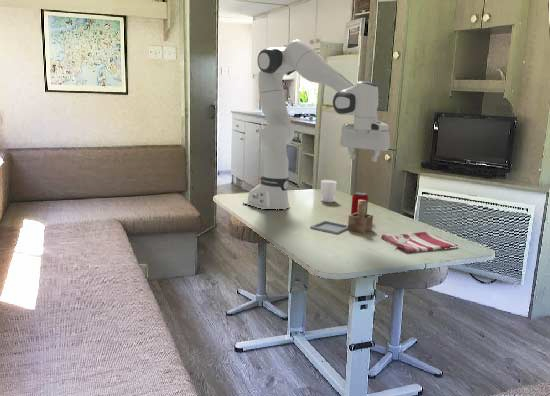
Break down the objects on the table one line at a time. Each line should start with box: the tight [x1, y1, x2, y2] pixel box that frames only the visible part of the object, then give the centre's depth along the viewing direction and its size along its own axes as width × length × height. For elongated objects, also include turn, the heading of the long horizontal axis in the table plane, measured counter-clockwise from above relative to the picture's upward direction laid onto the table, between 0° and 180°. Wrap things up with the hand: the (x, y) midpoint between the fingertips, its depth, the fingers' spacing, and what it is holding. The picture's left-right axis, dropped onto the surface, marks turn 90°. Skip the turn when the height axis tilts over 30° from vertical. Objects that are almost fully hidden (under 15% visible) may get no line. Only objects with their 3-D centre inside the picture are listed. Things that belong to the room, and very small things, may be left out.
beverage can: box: [350, 191, 369, 215], centre depth 219 cm, size 7×7×12 cm
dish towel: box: [380, 231, 459, 254], centre depth 190 cm, size 17×23×3 cm
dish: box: [309, 220, 349, 235], centre depth 203 cm, size 12×12×1 cm
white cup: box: [320, 179, 338, 203], centre depth 254 cm, size 8×8×10 cm
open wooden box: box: [347, 212, 374, 234], centre depth 202 cm, size 7×7×7 cm
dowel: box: [357, 200, 367, 218], centre depth 201 cm, size 3×3×12 cm
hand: (363, 160), depth 198 cm, fingers open, 8 cm apart
